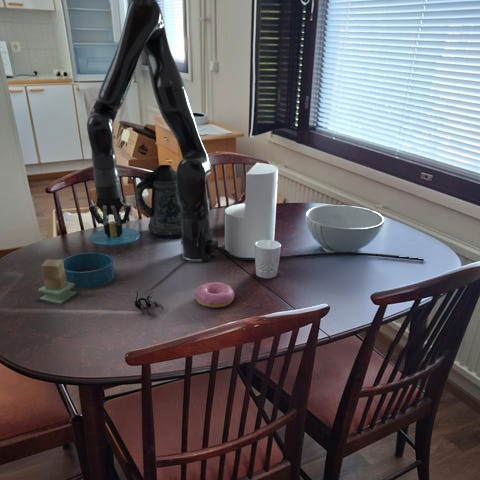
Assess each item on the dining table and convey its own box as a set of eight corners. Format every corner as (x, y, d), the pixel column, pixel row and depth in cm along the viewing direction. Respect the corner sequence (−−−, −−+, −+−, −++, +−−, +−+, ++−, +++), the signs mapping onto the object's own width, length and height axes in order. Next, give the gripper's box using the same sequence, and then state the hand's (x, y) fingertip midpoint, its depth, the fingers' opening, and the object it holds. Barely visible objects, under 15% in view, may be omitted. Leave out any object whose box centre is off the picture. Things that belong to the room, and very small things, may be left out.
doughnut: (239, 307, 131) (239, 294, 129) (199, 312, 128) (199, 298, 126) (228, 290, 140) (228, 277, 138) (191, 294, 137) (191, 281, 135)
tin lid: (148, 233, 161) (147, 217, 158) (123, 250, 148) (121, 233, 145) (107, 228, 166) (105, 212, 163) (79, 244, 152) (76, 227, 150)
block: (66, 282, 134) (62, 259, 131) (61, 289, 130) (57, 266, 127) (51, 282, 134) (46, 259, 131) (45, 289, 130) (40, 265, 127)
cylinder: (277, 243, 174) (282, 164, 160) (268, 261, 160) (273, 176, 146) (231, 238, 178) (232, 160, 164) (219, 255, 163) (219, 171, 149)
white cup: (281, 271, 153) (283, 241, 148) (275, 281, 146) (277, 250, 141) (258, 267, 155) (259, 238, 150) (250, 277, 148) (251, 246, 143)
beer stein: (201, 231, 183) (199, 165, 171) (168, 247, 169) (164, 175, 156) (167, 223, 191) (164, 159, 178) (133, 237, 176) (127, 168, 164)
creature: (163, 307, 132) (134, 302, 131) (166, 290, 130) (136, 285, 128) (161, 321, 126) (130, 316, 124) (164, 303, 123) (133, 298, 122)
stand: (76, 294, 136) (74, 283, 134) (60, 305, 130) (58, 293, 128) (56, 290, 138) (54, 279, 136) (39, 300, 132) (37, 289, 130)
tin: (124, 273, 149) (122, 256, 146) (95, 293, 137) (92, 276, 134) (83, 265, 153) (80, 249, 151) (51, 284, 141) (48, 267, 138)
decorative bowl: (293, 255, 164) (296, 221, 158) (313, 231, 186) (316, 201, 180) (372, 269, 156) (378, 233, 150) (383, 242, 177) (389, 210, 171)
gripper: (132, 179, 151) (137, 231, 159) (87, 179, 151) (95, 231, 159) (127, 185, 144) (133, 239, 153) (81, 185, 144) (89, 239, 153)
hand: (114, 235), depth 156 cm, fingers closed on tin lid, 3 cm apart
